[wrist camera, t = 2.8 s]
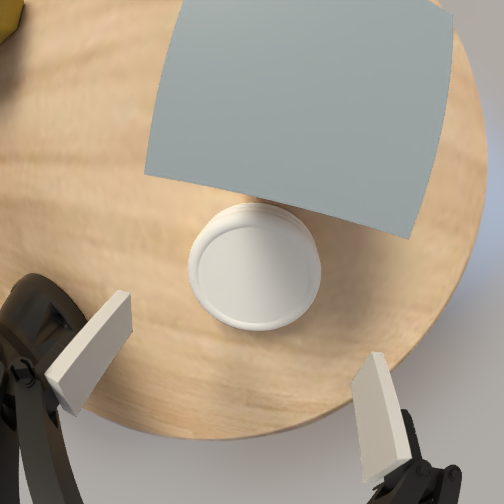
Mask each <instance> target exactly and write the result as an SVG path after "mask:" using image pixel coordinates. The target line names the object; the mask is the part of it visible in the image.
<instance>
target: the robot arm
mask: <svg viewBox="0 0 504 504" xmlns="http://www.w3.org/2000/svg"><path fill="white" fill-rule="evenodd" d="M132 332H133V329H132V315H131V296H130V293H128V292H125V291H122V290H119V289H118V290H117V291H116V292H115V293H114V294H113V296H112V297H111V298H110V299H109V300H108V301H107V302H106V303H105V304H104V305H103V306H102V307H101V308H100V309H99V311H98V312H97V313H96V314H95V315H94V316H93V317H92V318H91V319H90V320H89V322H88V323H87V322H86V320H85V318H84V316H83V315H82V313H81V312H80V310H79V309H78V308H77V306H76V305H75V304H74V302H73V301H72V300H71V299H70V298H69V297H68V295H67V294H66V293H65V292H64V291H63V290H62V289H61V288H60V287H58V286H57V285H56V284H55V283H53V282H52V281H51V280H49V279H48V278H46V277H44V276H42V275H39V274H34V273H31V274H27V275H26V276H24V277H23V278H22V279H20V280H19V281H18V282H17V283H16V284H15V285H14V286H13V288H12V290H11V293H10V295H9V296H8V298H7V299H6V301H5V303H4V304H3V306H2V308H1V309H0V504H20V499H19V447H20V450H21V456H22V461H23V465H24V471H25V475H26V480H27V483H28V487H29V491H30V495H31V498H32V501H33V504H84V503H83V501H82V498H81V496H80V493H79V490H78V487H77V484H76V482H75V479H74V475H73V473H72V469H71V466H70V463H69V459H68V455H67V451H66V447H65V444H64V439H63V435H62V430H61V425H60V421H59V414H58V410H57V406H58V405H59V404H60V405H61V406H62V408H63V409H64V410H65V411H67V412H68V413H70V414H72V415H73V416H75V417H77V415H78V413H79V412H80V410H81V408H82V407H83V405H84V404H85V402H86V401H87V399H88V397H89V396H90V394H91V393H92V391H93V390H94V388H95V386H96V385H97V383H98V382H99V380H100V379H101V377H102V376H103V374H104V373H105V371H106V370H107V368H108V367H109V365H110V364H111V362H112V361H113V359H114V358H115V356H116V355H117V353H118V352H119V350H120V349H121V347H122V346H123V345H124V343H125V342H126V340H127V339H128V337H129V336H130V334H131V333H132ZM350 384H351V390H352V396H353V402H354V408H355V415H356V422H357V430H358V438H359V446H360V455H361V464H362V476H363V482H373V481H377V480H379V479H381V478H382V477H384V482H383V483H381V484H379V485H377V486H376V487H374V488H373V490H376V489H377V491H376V492H375V494H374V495H373V496H372V498H371V499H370V500H369V502H368V503H367V504H457V503H458V498H459V493H460V487H461V481H462V472H461V470H460V468H459V467H458V466H456V465H450V466H448V467H446V468H445V469H439V468H433V467H432V466H431V464H430V463H429V462H428V461H426V460H424V459H422V456H421V452H420V447H419V443H418V439H417V435H416V434H415V432H416V431H415V428H414V427H413V426H414V424H413V420H412V417H411V415H410V414H409V413H408V411H407V410H406V409H400V406H399V403H398V399H397V396H396V392H395V389H394V385H393V382H392V379H391V376H390V372H389V369H388V366H387V363H386V360H385V357H384V354H383V353H379V352H371V353H370V355H369V356H368V358H367V360H366V361H365V363H364V364H363V366H362V367H361V369H360V370H359V372H358V373H357V375H356V376H355V377H354V379H353V380H352V382H351V383H350ZM432 499H433V500H432Z"/></svg>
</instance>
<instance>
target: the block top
mask: <svg viewBox="0 0 504 504" xmlns="http://www.w3.org/2000/svg"><path fill="white" fill-rule="evenodd" d="M452 50H453V15H452V14H450V13H449V12H447V11H445V10H444V9H442V8H440V7H439V6H437V5H435V4H433V3H432V2H430V1H428V0H184V1H183V4H182V7H181V9H180V12H179V15H178V18H177V21H176V24H175V28H174V31H173V34H172V38H171V41H170V44H169V48H168V52H167V55H166V59H165V63H164V67H163V71H162V75H161V79H160V84H159V88H158V93H157V98H156V102H155V108H154V113H153V118H152V124H151V130H150V136H149V142H148V149H147V157H146V164H145V173H144V174H145V175H150V176H156V177H162V178H167V179H173V180H178V181H184V182H189V183H194V184H199V185H204V186H209V187H214V188H218V189H223V190H228V191H232V192H237V193H241V194H246V195H250V196H254V197H259V198H263V199H267V200H271V201H275V202H279V203H283V204H287V205H291V206H295V207H299V208H303V209H307V210H311V211H314V212H318V213H322V214H325V215H329V216H333V217H336V218H340V219H343V220H347V221H350V222H354V223H357V224H361V225H364V226H367V227H371V228H374V229H377V230H380V231H384V232H387V233H390V234H393V235H396V236H399V237H402V238H406V239H409V237H410V234H411V232H412V229H413V226H414V224H415V221H416V218H417V215H418V212H419V210H420V207H421V204H422V201H423V198H424V194H425V191H426V188H427V185H428V181H429V178H430V175H431V171H432V167H433V164H434V160H435V156H436V152H437V148H438V144H439V139H440V135H441V130H442V125H443V120H444V115H445V109H446V104H447V97H448V90H449V83H450V74H451V64H452Z"/></svg>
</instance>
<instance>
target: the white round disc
mask: <svg viewBox="0 0 504 504" xmlns="http://www.w3.org/2000/svg"><path fill="white" fill-rule="evenodd" d="M188 278H189V283H190V286H191V289H192V291H193V293H194V295H195V297H196V299H197V300H198V302H199V303H200V304H201V306H202V307H203V308H204V309H205V310H206V311H207V312H208V313H209V314H210V315H212V316H213V317H214V318H216V319H217V320H219V321H221V322H223V323H225V324H227V325H229V326H232V327H235V328H238V329H242V330H248V331H267V330H273V329H277V328H280V327H283V326H286V325H288V324H290V323H292V322H293V321H295V320H296V319H298V318H299V317H300V316H301V315H303V314H304V313H305V312H306V311H307V309H308V308H309V307H310V306H311V304H312V303H313V301H314V299H315V297H316V295H317V293H318V290H319V286H320V282H321V263H320V258H319V255H318V251H317V248H316V244H315V241H314V239H313V237H312V235H311V233H310V231H309V230H308V228H307V227H306V226H305V225H304V223H303V222H302V221H300V220H299V219H298V218H297V217H296V216H294V215H293V214H292V213H290V212H288V211H287V210H285V209H282V208H280V207H278V206H274V205H271V204H266V203H254V202H251V203H242V204H238V205H234V206H232V207H229V208H227V209H225V210H223V211H221V212H220V213H218V214H217V215H216V216H214V217H213V218H212V219H211V220H210V221H209V222H208V224H207V225H206V226H205V227H204V229H203V230H202V231H201V232H200V234H199V235H198V237H197V238H196V239H195V241H194V243H193V245H192V247H191V251H190V254H189V259H188Z"/></svg>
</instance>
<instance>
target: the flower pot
mask: <svg viewBox="0 0 504 504" xmlns="http://www.w3.org/2000/svg"><path fill="white" fill-rule="evenodd" d="M23 4H24V0H0V44H1V43H2V42H3V41H4V40H5V39H6V38H7V37H8V36H9V35H11V34H12V33H13V32H14V31H15V30H16V29H17V27H18V23H19V19H20V15H21V11H22V8H23Z"/></svg>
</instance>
